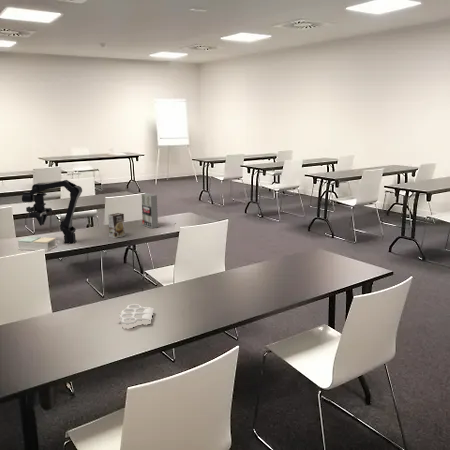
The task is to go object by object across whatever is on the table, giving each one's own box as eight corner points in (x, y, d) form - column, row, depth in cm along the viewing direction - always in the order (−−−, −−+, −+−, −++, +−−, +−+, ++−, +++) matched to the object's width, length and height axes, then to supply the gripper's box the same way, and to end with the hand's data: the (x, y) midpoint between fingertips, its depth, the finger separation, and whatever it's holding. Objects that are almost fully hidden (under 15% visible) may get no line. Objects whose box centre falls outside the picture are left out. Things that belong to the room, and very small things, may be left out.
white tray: (57, 246, 290) (56, 238, 288) (46, 251, 278) (46, 243, 277) (29, 244, 293) (28, 237, 292) (18, 249, 281) (17, 242, 280)
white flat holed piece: (150, 329, 176) (113, 330, 175) (155, 310, 194) (121, 311, 193) (150, 321, 175) (113, 322, 175) (154, 303, 193) (121, 304, 192)
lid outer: (40, 238, 289) (40, 237, 289) (31, 242, 279) (31, 241, 279) (27, 237, 291) (27, 236, 291) (18, 241, 281) (17, 240, 281)
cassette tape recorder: (141, 225, 345) (140, 193, 339) (148, 224, 349) (147, 193, 343) (151, 228, 335) (150, 196, 329) (158, 227, 339) (157, 195, 333)
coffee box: (115, 238, 308) (113, 215, 304) (109, 237, 312) (107, 214, 308) (125, 235, 315) (124, 213, 311) (119, 234, 319) (118, 212, 315)
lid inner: (55, 239, 288) (55, 238, 287) (46, 243, 278) (46, 242, 277) (42, 238, 289) (42, 237, 289) (33, 242, 279) (33, 241, 279)
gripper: (36, 199, 302) (38, 221, 306) (19, 204, 284) (22, 228, 288) (51, 199, 300) (53, 222, 304) (35, 205, 283) (38, 228, 286)
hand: (41, 225), depth 296 cm, fingers closed
